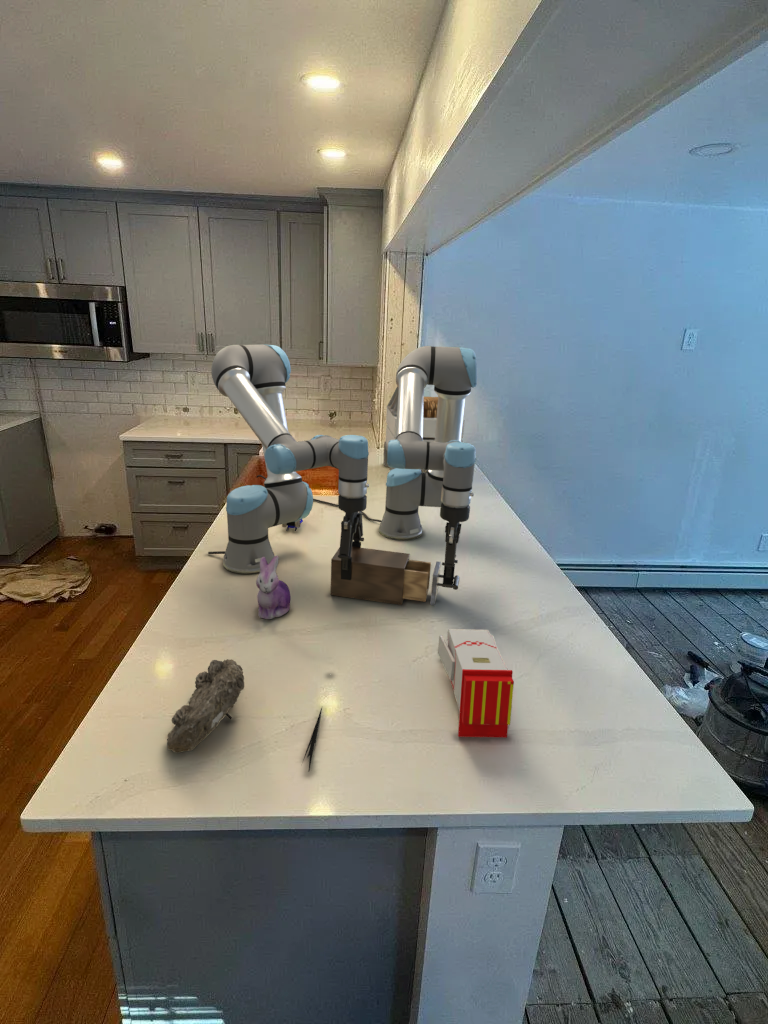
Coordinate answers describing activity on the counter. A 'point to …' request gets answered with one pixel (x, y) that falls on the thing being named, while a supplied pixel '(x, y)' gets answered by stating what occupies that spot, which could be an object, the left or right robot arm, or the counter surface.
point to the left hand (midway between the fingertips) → (350, 570)
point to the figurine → (271, 591)
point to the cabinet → (371, 575)
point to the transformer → (428, 421)
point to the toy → (478, 682)
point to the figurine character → (292, 525)
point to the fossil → (206, 705)
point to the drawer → (423, 581)
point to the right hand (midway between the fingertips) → (447, 586)
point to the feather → (313, 740)
